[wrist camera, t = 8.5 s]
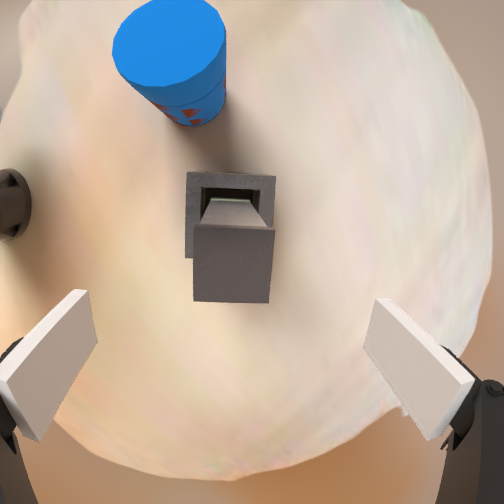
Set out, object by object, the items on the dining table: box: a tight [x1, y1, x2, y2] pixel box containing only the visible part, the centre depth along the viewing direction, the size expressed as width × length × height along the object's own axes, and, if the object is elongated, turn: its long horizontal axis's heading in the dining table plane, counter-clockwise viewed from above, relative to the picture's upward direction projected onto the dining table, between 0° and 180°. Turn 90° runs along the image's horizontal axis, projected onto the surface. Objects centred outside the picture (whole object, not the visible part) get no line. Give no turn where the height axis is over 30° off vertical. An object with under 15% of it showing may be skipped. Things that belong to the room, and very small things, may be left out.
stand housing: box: [185, 172, 276, 258], centre depth 44 cm, size 12×12×11 cm
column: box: [193, 197, 275, 303], centre depth 31 cm, size 5×6×22 cm
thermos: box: [112, 0, 226, 126], centre depth 31 cm, size 11×11×25 cm
